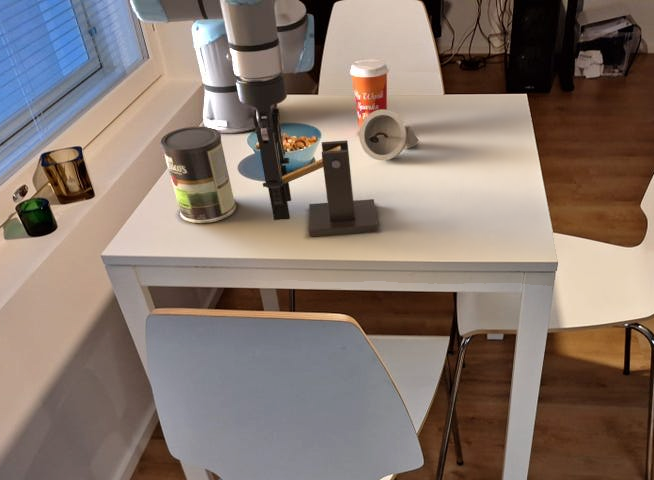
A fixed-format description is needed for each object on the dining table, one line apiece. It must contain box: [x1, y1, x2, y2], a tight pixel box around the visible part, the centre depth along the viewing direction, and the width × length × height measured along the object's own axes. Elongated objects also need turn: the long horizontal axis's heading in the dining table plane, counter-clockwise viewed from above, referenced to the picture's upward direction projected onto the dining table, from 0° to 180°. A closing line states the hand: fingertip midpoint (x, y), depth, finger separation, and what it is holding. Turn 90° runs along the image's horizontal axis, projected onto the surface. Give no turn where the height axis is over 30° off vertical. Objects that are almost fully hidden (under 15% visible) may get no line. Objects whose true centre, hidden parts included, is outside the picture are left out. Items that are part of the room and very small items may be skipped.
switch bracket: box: [308, 139, 378, 238], centre depth 117 cm, size 12×10×14 cm
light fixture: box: [359, 109, 419, 161], centre depth 140 cm, size 11×16×10 cm, turn 164°
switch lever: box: [281, 146, 342, 184], centre depth 114 cm, size 13×6×2 cm, turn 96°
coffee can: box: [159, 126, 237, 224], centre depth 121 cm, size 10×10×14 cm
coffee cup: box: [349, 58, 390, 129], centre depth 147 cm, size 8×8×15 cm
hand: (282, 209), depth 119 cm, fingers closed on switch lever, 6 cm apart
